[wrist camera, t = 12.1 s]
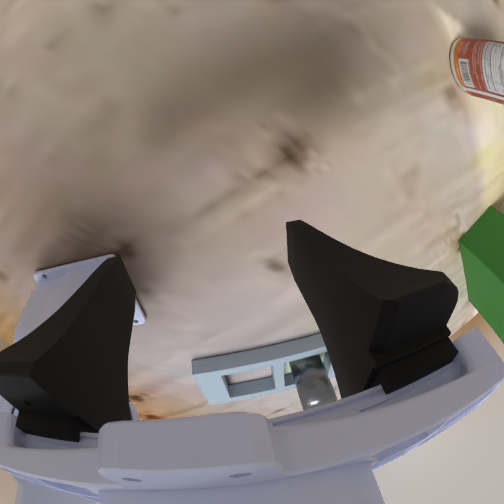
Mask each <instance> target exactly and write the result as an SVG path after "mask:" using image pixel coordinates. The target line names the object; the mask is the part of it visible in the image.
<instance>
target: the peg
mask: <svg viewBox="0 0 504 504" xmlns="http://www.w3.org/2000/svg"><path fill="white" fill-rule="evenodd" d="M289 366H290V369H291V372H292V375H293V378H294V382H295V385H296V388H297V391H298V394H299V397H300V401H301V404H302V407H303V410H307V409H311V408H314V407H318V406H321V405H324V404H328V403H331V402H334V401H336V400H337V397H336V394H335V392H334V389H333V387H332V384H331V382H330V379H329V377H328V374H327V372H326V369H325V367H324V364H323V362H322V359H321V357H320V354H317V355H313V356H309V357H306V358H302V359H298V360H294V361H290V362H289Z"/></svg>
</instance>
